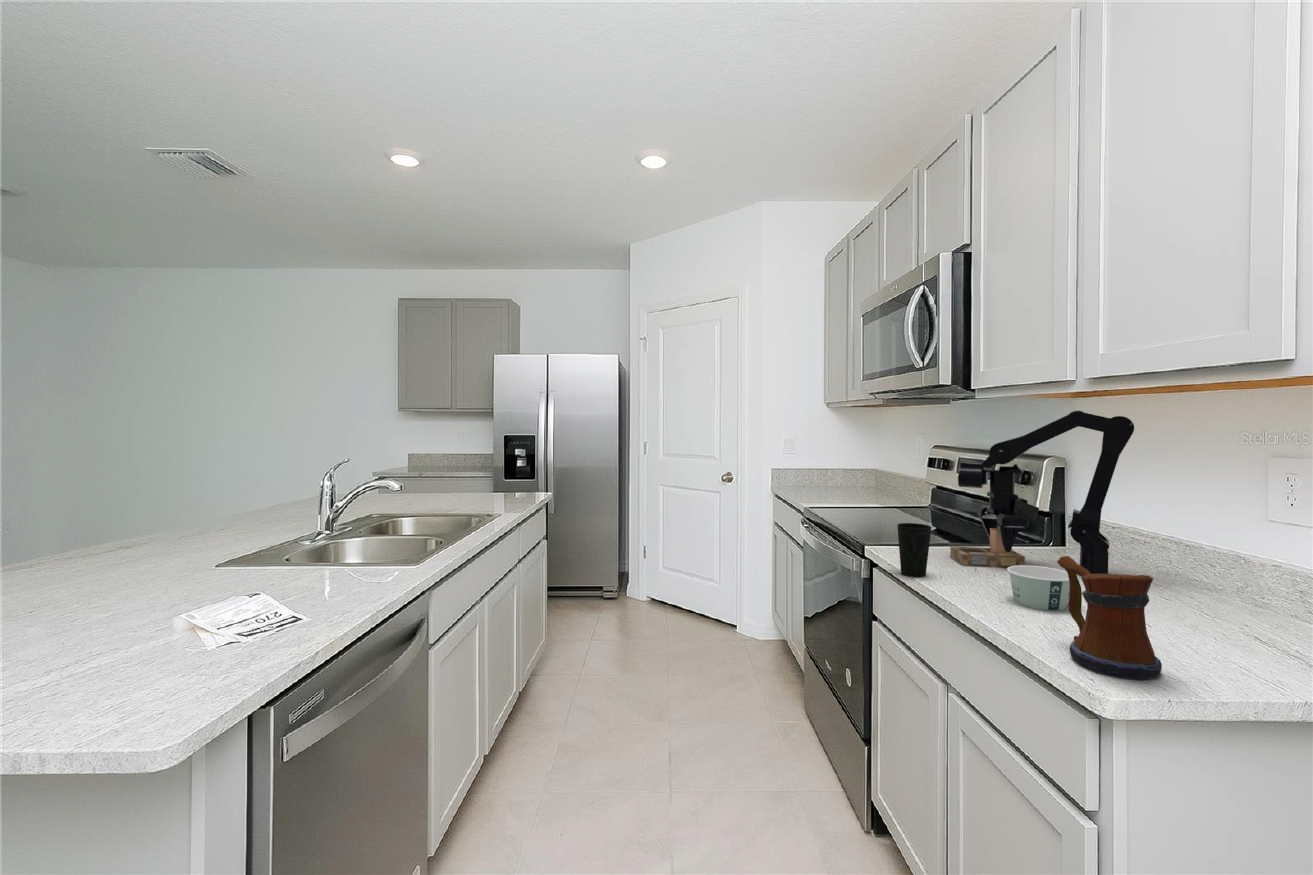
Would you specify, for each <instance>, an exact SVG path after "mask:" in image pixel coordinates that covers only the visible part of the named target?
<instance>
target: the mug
mask: <svg viewBox="0 0 1313 875" xmlns="http://www.w3.org/2000/svg"><path fill="white" fill-rule="evenodd" d="M1056 563H1057V564H1058V565H1059V566H1060V567H1061V568H1063V569H1064V571H1066V572H1067V573H1068V577H1069V584H1070V592H1069V598H1068V602H1067V606H1068V612H1069V614H1070V617H1071V618H1072V619H1073V621H1074V622H1075V623H1076V625H1077V627H1078V629H1079V630H1078V632H1079V633H1078V635H1074V636H1073V640H1072V642H1071V643H1070V645H1069V653H1070V657H1071V658H1072V659H1073V660H1074V661H1075V662H1077V663H1079V665H1081V666H1083V667H1085V668H1087V669H1089V670H1091V671H1093V672H1095V673H1096V674H1097V673H1098V674H1103V675H1107V676H1109V677H1110V676H1111V677H1115V678H1120V679H1121V678H1122V679H1127V680H1136V681H1144V680H1150V679H1155V678H1156V679H1157V677H1158V676H1159V675H1160V673H1161V672H1162V669H1163V665H1162V664H1163V663H1162V661H1161V660H1160V658H1158V657H1157V656H1156V654H1155V651H1154V648H1153V646H1152V643H1151V640H1150V637H1149V635H1148V632H1147V624H1146V615H1145V610H1146V609H1145V607H1147V606H1148V603H1149V602H1150V598H1149V594H1148V593H1149V591H1150V588H1151V585H1152V583H1153V581H1154V577H1152V576H1151V575H1149V574H1148V575H1145V574H1138V575H1137V574H1136V575H1133V574H1122V573H1121V574H1118V573H1109V574H1091V573H1090V572H1089V571H1088V570H1087V569H1085V568H1084V567H1082V566H1080V564H1079V563H1077V562H1076V561H1075V560H1074V559H1073V558H1072V557H1070V556H1069V555H1065V556H1060V557H1059V559H1058V560H1057V561H1056ZM1077 575H1078V576H1079V577H1081V578H1080V579H1081V581H1082V583H1083V585H1084V589H1085V590H1083V591H1082V585H1081V583H1080V581H1079V579H1078V578H1079V577H1078V576H1077ZM1082 598H1083V599H1084V601H1085V602H1086V605H1087V608H1086V612H1085V614H1086V615H1085V618H1084V616H1083V613H1082V602H1083V599H1082Z"/></svg>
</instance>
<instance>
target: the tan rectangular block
mask: <svg viewBox="0 0 1313 875" xmlns="http://www.w3.org/2000/svg"><path fill="white" fill-rule="evenodd" d="M989 548H990V552H991V553H993V554H998V553H1005V554H1012V550H1013V548H1012V549H1011V551H1010V552H1006V551H1005V549H1004V546H1003V543H1002V540H1001V537H1000V534H999V531H998V528H990V539H989Z"/></svg>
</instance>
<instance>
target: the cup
mask: <svg viewBox="0 0 1313 875" xmlns="http://www.w3.org/2000/svg"><path fill="white" fill-rule="evenodd" d="M896 527H897V538H898V550H899V552H898V553H899V562H900V574H901V575H902V576H905V577H910V578H911V577H912V578H924V577H926V575H927V567H928V560H929V550H930V542H931V533H932V526H930V525H929V524H923V523H914V522H913V523H911V522H902V523H901V522H900V523H898V524H897V525H896Z"/></svg>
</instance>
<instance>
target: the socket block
mask: <svg viewBox="0 0 1313 875" xmlns="http://www.w3.org/2000/svg"><path fill="white" fill-rule="evenodd" d="M949 547H950V553H949V554H950V555H949V556H950V559H952V560H954V561H955V562H956V563H958V564H959V565H961V566H963V567H985V568H986V567H988V568H1006V569H1007V568H1008V567H1011V566H1019V565H1026V556H1025V555H1022V554H1021V553H1019V552H1017V551H1015V550H1013V549H1012V554H1005V553H998V554H993V553H991V552H990V547H978V546H977V547H976V546H975V547H974V546H973V547H972V546H954V545H953V546H951V545H950V546H949Z"/></svg>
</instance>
